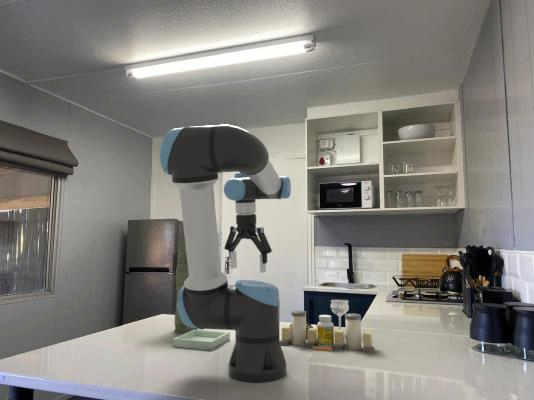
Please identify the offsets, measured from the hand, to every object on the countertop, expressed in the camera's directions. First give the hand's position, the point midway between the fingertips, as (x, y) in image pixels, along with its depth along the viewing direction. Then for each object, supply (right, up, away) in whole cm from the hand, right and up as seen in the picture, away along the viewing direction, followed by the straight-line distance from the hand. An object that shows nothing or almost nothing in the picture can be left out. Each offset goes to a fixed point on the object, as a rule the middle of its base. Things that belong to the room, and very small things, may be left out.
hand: (248, 270), depth 148 cm
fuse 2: (+35, -21, -22) cm, 46 cm away
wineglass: (+34, -23, -3) cm, 41 cm away
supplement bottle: (+26, -22, -19) cm, 39 cm away
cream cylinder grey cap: (+18, -22, -16) cm, 32 cm away
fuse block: (+26, -21, -19) cm, 39 cm away
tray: (-15, -22, -15) cm, 30 cm away
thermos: (-24, -24, +4) cm, 34 cm away
